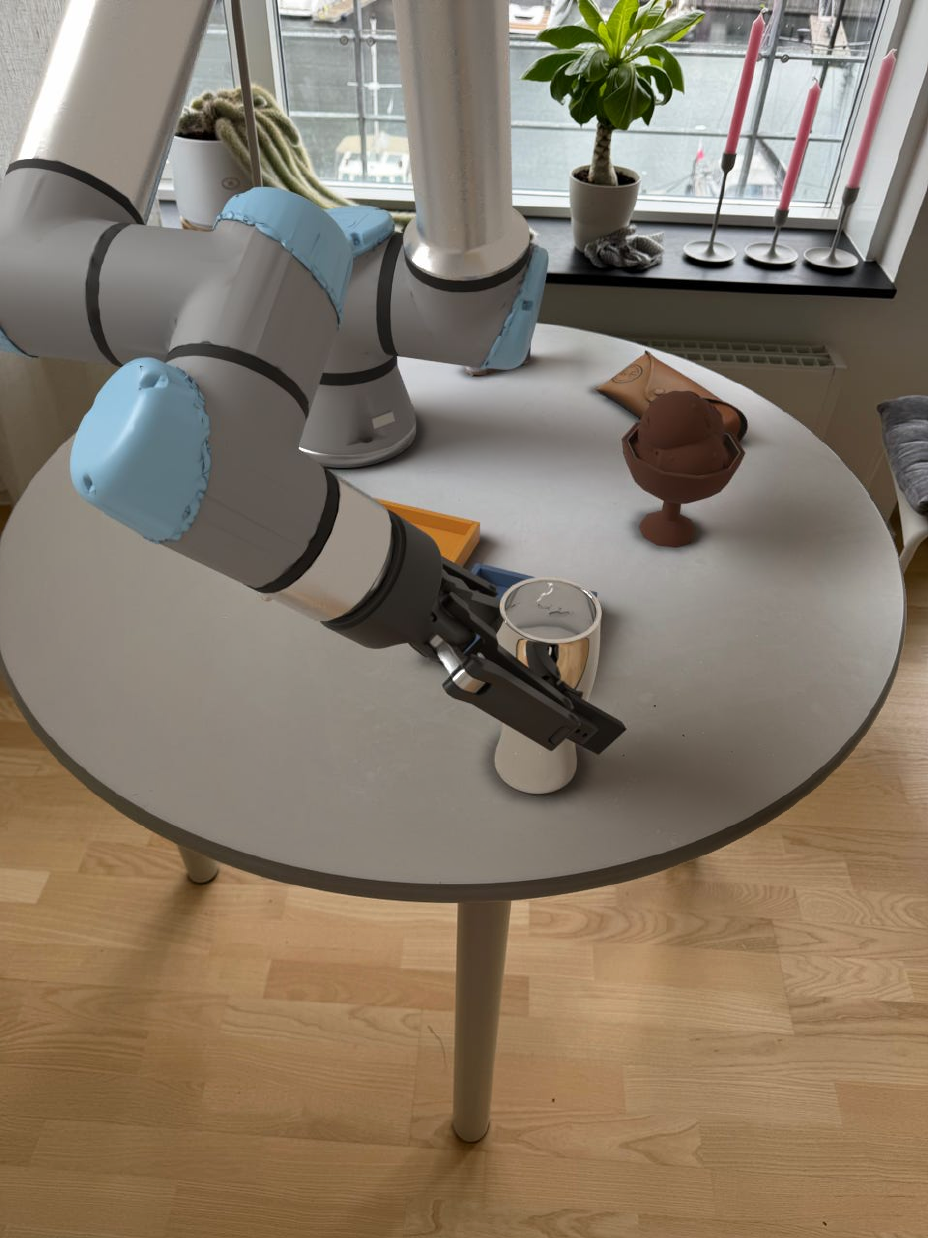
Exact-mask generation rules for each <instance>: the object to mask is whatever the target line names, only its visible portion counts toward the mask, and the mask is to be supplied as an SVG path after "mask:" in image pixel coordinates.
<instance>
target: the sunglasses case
mask: <svg viewBox="0 0 928 1238" xmlns="http://www.w3.org/2000/svg"><path fill="white" fill-rule="evenodd" d="M595 391H597V392H599V393H600V394H602V395H604V396H605V397H608V398H609V399H611V400H613V401H614V402H615V403H617V404H618V405H620V407H622V408H624V409H625V410H627V411H628V412H630V413H631V414H632V415H633V416H635V417H636V418H637V419H639V420H641V418H642V415H643V414H644V412H645V411H646V410H647V409H648V407H649V404H650V402H651V401H653V400H654V399H655V398H656V397H658V396H660V395H663V394H665V393H668V392H671V391H692V392H695V393H697V394H698V395H699V396H700V398H702V399H705V400H707V401H708V402H709V403H710V404H711V405H712V406H715V407H716V409H717V410H718V411H719V412H720V413H721V414H722V418H723V424H724V426H725V430H727V431H729V432H731V433H733V434H734V436H735V437H736V439H737V440H738V442H739V443H740V442H741V441H742V440H743V438H744V437H745V436H746V434H747V431H748V426H749V421H748V419H747V417H746V415H745V414H744V412H743V411H742V410H740V409H739V408H738V407H736V406H734V405H733V404H730V403H729V402H726V401H725V400H723V399H722V398H720V397H719V396H717V395H715V394H714V393H713V392H712V391H710V390H708V389H707V388H705V387H704V386H702V385H701V384H699V383H698V382H697V381H695V380H693V379H691V378H690V377H688V376H687V375H686V374H683V373H682V372H680V371H678V370H677V369H675V368H673V367H672V366H670V365H668V364H666V362H665V363H664V362H663V361H662V360H660V359H658V358H657V357H655V356H654V355H653V354H652V353H651V352H650V351H648V350H646V349H645V350H644V353H643V354H642V355H641V356H639V357H637V358H635V360H634V361H632V362H631V363H630V364H628V366H626V367H624V368H623V369H622V370H621V371H619V372H618V373H616V374H615V375H614V376H613V377H611V378H609V380H607V381H605V383H604V384H603V385H601V386H596V387H595Z"/></svg>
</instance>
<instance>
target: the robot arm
mask: <svg viewBox="0 0 928 1238" xmlns="http://www.w3.org/2000/svg"><path fill="white" fill-rule="evenodd" d="M217 1H218V0H64V3H63V6H62V9H61V11H60V14H59V17H58V20H57V23H56V26H55V28H54V31H53V35H52V38H51V41H50V43H49V46H48V50H47V52H46V55H45V58H44V62H43V65H42V67H41V70H40V73H39V76H38V79H37V82H36V85H35V88H34V90H33V93H32V96H31V99H30V102H29V105H28V108H27V111H26V114H25V117H24V120H23V123H22V125H21V127H20V131H19V134H18V137H17V140H16V143H15V145H14V146H15V147H14V149H13V152H12V155H11V158H10V160H9V163H8V167H7V169H6V171H5V173H4V176H3V179H2V182H1V184H0V351H1V352H6V353H10V354H14V355H19V356H23V357H25V358H27V359H31V360H33V359H38V358H47V359H48V358H49V359H58V360H63V361H64V360H66V361H73V362H82V363H89V364H96V365H97V364H98V365H106V366H111V367H112V366H113V367H119V369H117V370H116V372H114V373H113V374H112V375H111V376H110V378H109V379H108V380H107V381H106V382H105V384H103V386H102V387H101V389H100V390H99V391H98V393H97V395H96V397H95V398H94V400H93V404H92V406H91V408H89V410H88V412H86V414H85V415H84V416H83V418H82V420H81V422H80V424H79V427H78V429H77V431H76V434H75V437H74V440H73V443H72V447H71V451H70V457H69V474H70V478H71V482H72V484H73V487H74V489H75V490H76V493H78V495H79V496H80V497H81V498H82V499H83V500H85V501H86V502H87V503H88V504H90V505H91V506H93V507H94V508H96V509H97V510H99V511H101V512H102V513H103V514H104V515H105V516H107V517H109V518H111V519H113V520H114V521H115V522H117V523H119V524H121V525H123V526H125V527H127V528H128V529H130V530H131V531H133V532H135V533H137V534H139V535H140V537H141V538H143V539H145V540H146V541H148V542H150V543H152V544H154V545H160V546H163V547H165V548H167V549H169V550H171V551H173V552H176V553H177V554H179V555H182V556H184V557H186V558H188V559H190V560H192V561H195V562H196V563H198V564H201V565H203V566H204V567H207V568H209V569H211V570H213V571H215V572H218V574H219V573H220V574H222V575H223V576H226V577H228V578H230V579H232V580H234V581H236V582H238V583H240V584H243V586H246V587H247V588H249V589H251V590H253V591H256V593H257V595H258V596H259V598H260V599H261V601H264V602H271V601H275V602H277V603H279V604H281V605H283V606H285V607H287V608H289V609H291V610H293V611H294V612H296V613H299V614H301V615H303V616H305V617H306V618H308V619H311V620H313V621H315V622H319V623H320V624H321V625H322V626H323V627H325V628H326V629H328V630H330V631H332V632H334V633H336V634H338V635H340V636H342V637H344V638H346V639H348V640H349V641H352V642H354V643H356V644H358V645H360V646H361V647H364V648H368V649H371V650H372V649H374V650H381V649H386V648H390V647H394V646H399V645H404V644H405V645H406V644H408V645H409V646H410V647H411V648H412V649H413V650H414V651H416V653H418V654H419V655H421V656H422V657H424V658H426V659H429V658H430V659H429V660H431V659H432V661H434V660H435V661H434V662H436V663H438V664H439V665H440V666H441V667H443V668H445V669H446V670H447V672H448V674H449V676H448V677H447V678H446V679H445V680H444V681H443V683H442V684H441V686H442V689H443V690H444V692H445V693H446V695H448V696H449V697H450V698H452V699H454V700H457V701H460V702H464V703H466V704H470V705H473V706H474V707H476V708H477V709H479V710H481V711H483V712H484V713H486V714H487V715H489V716H491V717H492V718H494V719H496V720H498V721H500V722H501V723H502V722H503V723H504V724H506V725H508V726H509V727H511V728H513V729H514V730H516V731H518V732H519V733H521V734H523V735H524V736H526V737H528V738H529V739H531V740H533V741H534V742H536V743H538V744H539V745H541V746H543V747H544V748H546V749H548V750H550V751H553V750H554V749H555V748H556V747H557V746H558V745H560V744H561V743H562V742H563V741H564V740H565V739H568V740H570V741H572V742H574V743H575V745H579V746H580V747H581V748H584V749H586V750H588V751H590V752H592V753H593V754H596V755H597V756H599V755H600V754H601V753H603V752H604V751H606V749H608V747H610V745H612V744H613V743H614V742H615V741H616V740H617V739H618V738H620V737H621V735H622V734H624V733H625V732H626V731H627V727H626V726H625V724H624V723H623V721H621V719H618V718H616V717H615V716H613V715H611V714H609V713H607V712H606V711H604V710H602V709H601V708H599V707H597V706H596V705H593V704H592V703H591V702H589V701H585V700H583V699H582V698H580V697H578V696H576V695H575V694H573V693H571V692H569V691H568V690H565V691H564V692H563V693H562V694H561V693H560V692H559V691H557V690H556V689H555V688H554V687H552V686H551V685H550V684H549V683H547V682H546V681H545V680H544V679H542V678H541V677H540V676H539V675H537V674H536V673H535V672H534V671H532V670H531V669H530V668H528V667H527V666H526V665H525V664H523V663H522V662H521V661H520V660H518V659H517V658H516V657H515V656H513V655H512V654H511V653H510V652H508V651H507V650H506V649H505V648H503V647H502V646H501V645H499V644H498V640H497V636H496V628H497V621H498V616H499V605H500V599H497V598H495V597H496V596H497V595H498V594H499V592H498V590H497V588H496V587H495V586H494V585H493V584H491V583H489V582H487V581H486V580H484V579H482V578H480V577H479V576H477V575H475V574H473V573H471V570H470V571H469V569H466V568H464V566H463V567H461V566H459V565H457V564H455V563H454V562H452V561H450V560H448V559H447V558H445V557H443V556H441V553H440V550H439V547H438V545H437V544H436V542H435V541H434V540H433V538H432V537H431V536H429V535H428V534H427V533H425V532H424V531H422V530H421V529H419V528H417V527H416V526H414V525H413V524H411V523H410V522H408V521H407V520H405V519H404V518H402V517H400V516H399V515H397V514H396V513H394V512H393V511H390V510H388V509H386V508H385V506H384V505H383V504H382V503H380V502H379V501H378V500H376V499H374V498H375V497H373V496H371V495H369V494H368V493H367V492H365V491H364V490H362V489H360V488H359V487H357V486H355V485H354V484H352V482H349V481H348V480H346V479H345V478H343V477H342V476H340V475H338V474H337V473H335V472H334V471H332V470H331V469H329V468H338V469H346V468H348V469H349V468H359V467H366V466H370V465H371V466H372V465H376V464H379V463H382V462H385V461H387V460H390V459H392V458H394V457H396V456H398V455H400V454H402V453H403V452H404V451H405V450H406V449H408V448H409V447H410V446H411V445H412V443H413V442H414V440H415V438H416V434H417V417H416V412H415V407H414V405H413V403H412V400H411V398H410V394H409V392H408V390H407V387H406V384H405V381H404V379H403V376H402V374H401V371H400V368H399V365H398V358H407V359H414V360H421V361H427V362H435V363H440V364H441V363H442V364H448V365H455V366H462V367H465V366H468V367H475V368H479V369H486V368H493V369H503V370H506V371H507V370H513V369H514V370H515V369H516V368H517V367H519V366H521V365H522V363H523V361H524V360H525V358H526V356H527V353H528V351H529V348H530V344H531V345H532V342H533V341H532V340H533V337H534V334H535V329H536V326H537V322H538V318H539V314H540V309H541V306H542V305H541V304H542V301H543V296H544V290H545V285H546V280H547V276H548V275H547V274H548V268H549V262H550V261H549V258H550V257H549V251H548V250H547V249H546V248H544V247H542V246H541V247H540V246H539V244H532V245H531V233H530V226H529V224H528V222H527V220H526V218H525V217H524V216H523V215H522V214H521V212H520V211H519V210H517V209H516V208H515V207H513V161H512V158H513V157H512V153H513V152H512V107H511V105H512V102H511V96H512V95H511V51H510V50H511V47H510V46H511V42H510V41H511V40H510V0H391V3H392V11H393V13H392V14H393V20H394V21H393V23H394V29H395V39H396V46H397V47H396V48H397V55H398V65H399V73H400V74H399V75H400V81H401V82H400V83H401V90H402V100H403V108H404V117H405V118H404V119H405V125H406V127H405V128H406V135H407V145H408V152H409V153H408V154H409V162H410V170H411V178H412V179H411V181H412V188H413V197H414V205H415V206H414V207H415V213H416V215H414V216H413V217H412V219H411V220H410V221H409V222H408V223H407V225H406V226H405V229H404V232H400V231H395V230H396V222H395V221H394V218H393V216H392V215H391V214H392V213H390V212H389V211H388V210H386V209H381V208H380V207H378V206H371V205H348V206H339V207H332V208H326V209H323V208H322V207H321V206H319V205H318V204H316V202H313V201H312V200H310V199H309V198H306V197H304V196H302V195H300V194H298V193H295V192H293V191H290V190H287V189H283V188H279V187H272V186H255V187H252V188H251V189H248V190H247V191H245V192H241V193H238V194H234V195H233V196H232V197H231V198H230V199H228V201H227V202H226V204H225V205H224V207H223V210H222V211H221V213H220V214H219V215H217V216H216V220H215V221H214V223H213V226H212V228H211V230H212V231H202V230H195V229H186V228H176V227H167V226H166V227H165V226H158V225H157V226H156V225H148V221H149V218H150V216H151V212H152V209H153V206H154V203H155V199H156V196H157V192H158V190H159V187H160V183H161V180H162V177H163V174H164V170H165V168H166V164H167V161H168V157H169V155H170V151H171V149H172V145H173V141H174V138H175V135H176V132H177V129H178V125H179V122H180V119H181V116H182V113H183V109H184V106H185V103H186V100H187V96H188V94H189V91H190V87H191V84H192V81H193V77H194V74H195V71H196V67H197V65H198V62H199V59H200V55H201V53H202V48H203V45H204V42H205V39H206V35H207V32H208V29H209V26H210V23H211V21H212V18H213V13H214V10H215V6H216V4H217ZM523 364H524V363H523ZM476 590H478V591H477V592H476ZM477 634H478V635H479V636H480V638H479V639H478V640H477V641H476V642H475V643H474V644H473V645H472V646H471V644H472V643H473V642H474V641H475V639H476V636H477ZM470 646H471V647H470ZM469 647H470V648H469ZM468 648H469V649H468ZM467 649H468V650H467ZM466 650H467V651H466ZM465 651H466V652H465ZM464 652H465V653H464ZM463 653H464V654H463Z"/></svg>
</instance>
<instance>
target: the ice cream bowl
mask: <svg viewBox="0 0 928 1238" xmlns="http://www.w3.org/2000/svg"><path fill="white" fill-rule="evenodd" d="M621 447H622V454H623V457H624V460H625V463H626V465H627V468H628V470H629V472H630V474H631V476H632V479H633V481H634V483H635V484H637V486H638V487H640V489H641V490H643V491H644V492H647V493H648V494H650V495H652V496H653V497H655V498H657V499H659V500H661V501H663V502H662V507H661V509H660V510H656V511H653V512H649V513H646V515H645V516H644V517H643V519H641V522H640V523H639V525H638V528H639V531H640V533H641V536H642V538H644V539H646V540H648V541H649V542H651V543H653V544H655V545H656V546H663V547H669V548H670V547H671V548H677V547H681V546H686V545H689V544H691V543H692V541H693V540H694V538H695V537H696V535H697V530H696V527H695V526H694V525H695V524H694V523H693V521H692V519H691V518H689V517H687V516H686V515H683V513H682V514H681V508H682V505H686V504H688V505H689V504H692V503H694V502H695V503H696V502H699V501H702V500H706V499H710V498H711V497H713V496H715V495H717V494H719V493H721V492H722V491H723V490H724V489H725V487H726V486H728V484H729V483H730V481H731V479H732V478H733V476H734V475H735V473H736V472H737V471H738V469H739V467H740V465H741V464H742V462H743V460H744V457H745V455H746V451H745V449H744V448H743V447H742V445H741V444H740V441H739V442H738V440H737V439H736V437H735V436H734V434H733V433H731V432H729V431H727V430H725V426H724V424H723V418H722V414H721V413H720V412H719V411H718V410H717V409H716V407H715V406H712V405H711V404H710V403H709V402H708V401H707V400H705V399H702V398H700V396H699V395H698V394H697V393H695V392H692V391H671V392H668V393H665V394H663V395H660V396H658V397H656V398H655V399H654V400H653V401H651V402H650V404H649V407H648V409H647V410H646V411H645V412H644V414H643V415H642V418H641V419H639V421H637V422H635V423H634V424H633V425H632V427H630V429H629V430H627V432H626V433H625V434H624V435H623V437H622V438H621Z"/></svg>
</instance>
